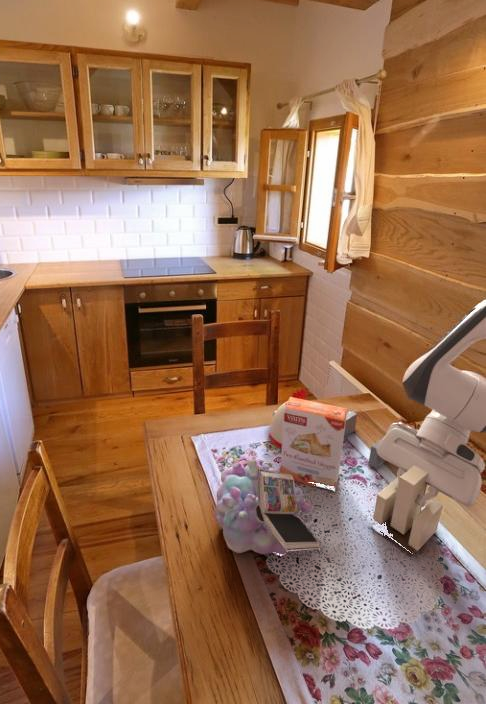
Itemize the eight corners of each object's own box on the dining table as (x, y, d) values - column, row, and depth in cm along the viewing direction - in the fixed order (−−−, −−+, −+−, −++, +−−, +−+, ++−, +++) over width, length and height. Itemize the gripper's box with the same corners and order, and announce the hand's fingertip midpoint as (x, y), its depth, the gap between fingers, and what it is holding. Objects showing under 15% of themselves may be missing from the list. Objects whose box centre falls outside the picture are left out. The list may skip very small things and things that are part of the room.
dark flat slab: (435, 531, 88) (436, 526, 87) (411, 557, 82) (412, 552, 81) (395, 506, 94) (396, 501, 94) (371, 528, 88) (372, 523, 88)
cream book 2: (436, 530, 86) (443, 505, 84) (417, 551, 81) (423, 524, 79) (427, 524, 88) (433, 499, 85) (408, 544, 83) (413, 518, 80)
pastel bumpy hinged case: (217, 469, 99) (211, 441, 85) (306, 468, 98) (315, 440, 84) (215, 565, 86) (208, 551, 72) (317, 566, 85) (330, 552, 71)
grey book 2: (395, 453, 112) (399, 435, 110) (375, 468, 106) (378, 449, 104) (388, 449, 113) (392, 431, 111) (368, 464, 107) (371, 445, 105)
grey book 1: (355, 430, 121) (357, 413, 119) (334, 443, 115) (336, 426, 113) (349, 427, 123) (351, 410, 121) (328, 440, 117) (330, 422, 115)
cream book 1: (400, 507, 92) (405, 482, 90) (381, 525, 87) (385, 499, 85) (392, 501, 93) (397, 477, 91) (372, 519, 89) (377, 494, 86)
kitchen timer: (327, 438, 118) (332, 393, 113) (296, 458, 109) (300, 411, 104) (290, 417, 128) (293, 375, 123) (259, 434, 119) (261, 390, 114)
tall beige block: (419, 519, 88) (429, 471, 84) (403, 535, 84) (414, 485, 80) (405, 511, 90) (415, 463, 86) (390, 525, 87) (399, 476, 82)
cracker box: (278, 478, 102) (283, 407, 95) (284, 463, 108) (289, 395, 100) (335, 494, 98) (345, 420, 90) (338, 477, 103) (348, 406, 95)
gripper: (390, 414, 92) (359, 467, 90) (490, 462, 77) (456, 527, 75) (397, 423, 96) (368, 474, 94) (493, 470, 81) (462, 532, 79)
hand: (408, 498), depth 84 cm, fingers closed on tall beige block, 3 cm apart
